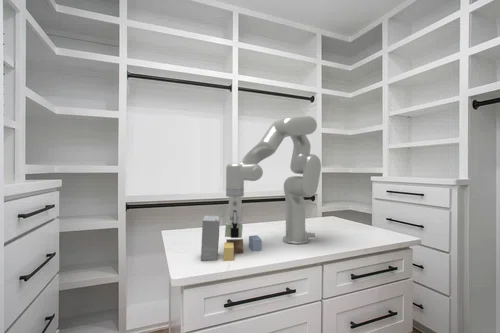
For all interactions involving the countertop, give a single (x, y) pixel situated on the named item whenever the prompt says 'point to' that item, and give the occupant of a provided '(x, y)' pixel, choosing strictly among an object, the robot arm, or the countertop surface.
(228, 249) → the ochre brick
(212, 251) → the skincare box
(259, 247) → the slate brick
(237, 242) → the walnut brick
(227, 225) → the sage brick
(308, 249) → the countertop surface
